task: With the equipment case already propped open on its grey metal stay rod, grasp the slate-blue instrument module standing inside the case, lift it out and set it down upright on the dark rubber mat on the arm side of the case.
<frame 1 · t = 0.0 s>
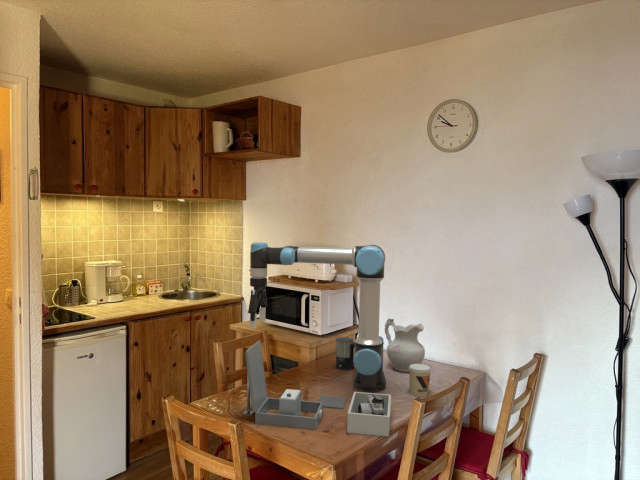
hand: (257, 324, 210), 28 cm above the table, fingers open, 13 cm apart
milk frother: (349, 366, 245), on the table
case: (290, 417, 179), on the table
mat: (331, 402, 195), on the table
camera: (370, 422, 177), resting in crate
module: (290, 418, 179), resting in case
lid: (256, 375, 181), point 15 cm above the table, hinge at 98.5°
coffee cup: (419, 394, 207), on the table
stay rod: (248, 413, 182), on the table
crate: (370, 421, 177), on the table
ceramic pitcher: (402, 368, 243), on the table
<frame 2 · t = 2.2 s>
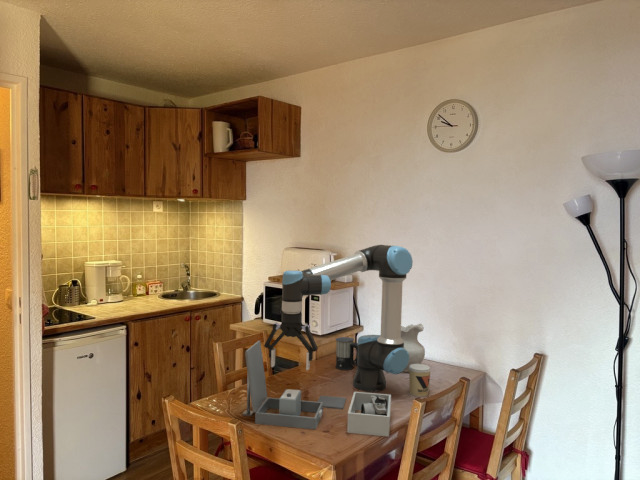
hand: (290, 367, 179), 19 cm above the table, fingers open, 13 cm apart
camera: (373, 422, 177), resting in crate
everything else where it was.
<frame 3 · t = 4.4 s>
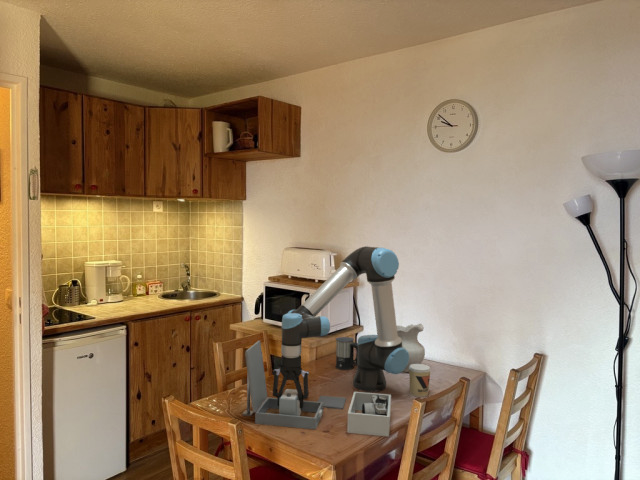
hand: (290, 415, 179), 1 cm above the table, fingers closed on module, 6 cm apart
module: (290, 417, 179), resting in case, touching gripper
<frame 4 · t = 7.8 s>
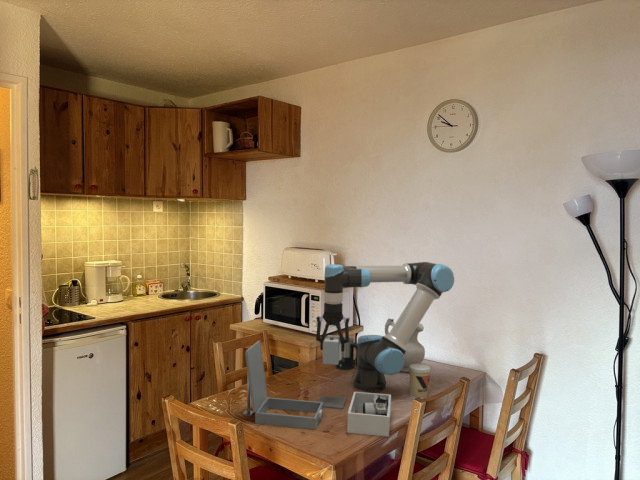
hand: (332, 358, 194), 19 cm above the table, fingers closed on module, 6 cm apart
module: (332, 360, 194), point 18 cm above the table, touching gripper
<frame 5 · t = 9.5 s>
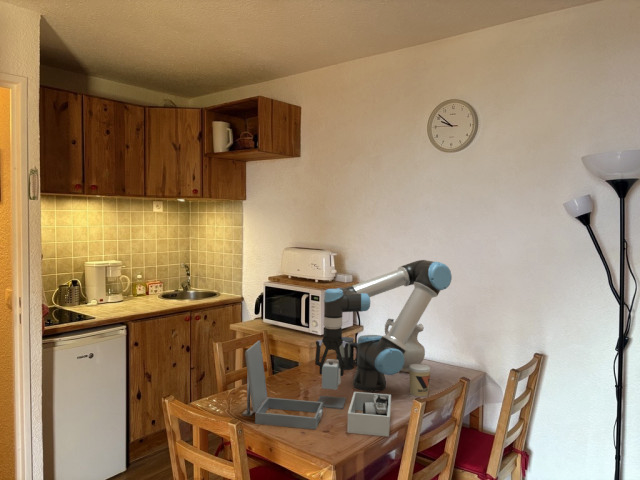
hand: (331, 382, 194), 8 cm above the table, fingers closed on module, 6 cm apart
module: (331, 384, 194), point 8 cm above the table, touching gripper
everything else where it was.
when the fingers open (2 cm above the table, at t = 11.0 s): module stays where it is, resting on mat.
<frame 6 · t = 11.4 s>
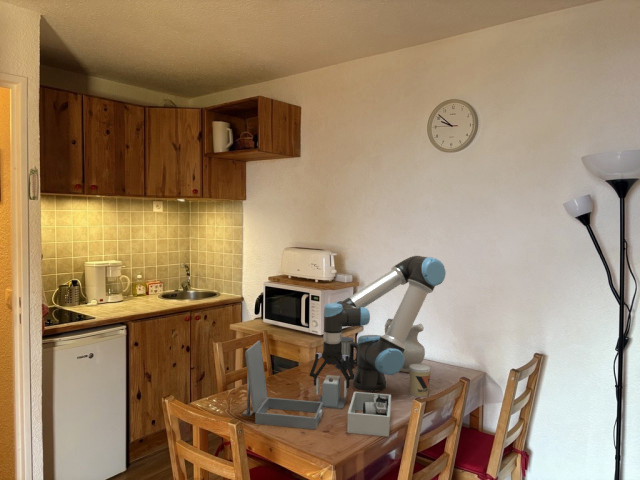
hand: (331, 394, 195), 3 cm above the table, fingers open, 11 cm apart
module: (331, 401, 195), point 1 cm above the table, touching mat
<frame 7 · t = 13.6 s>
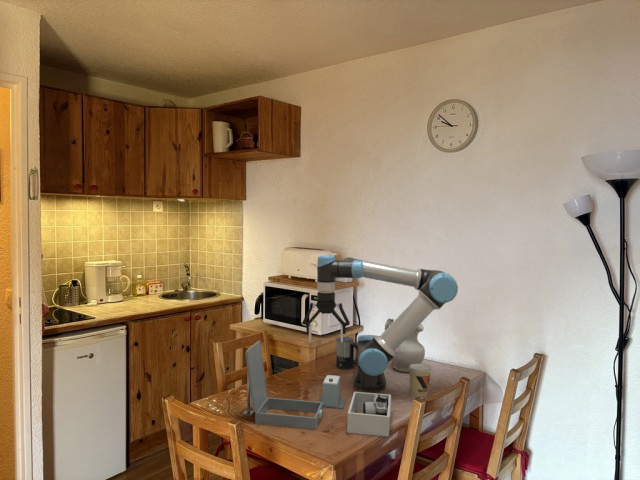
hand: (325, 341, 203), 23 cm above the table, fingers open, 13 cm apart
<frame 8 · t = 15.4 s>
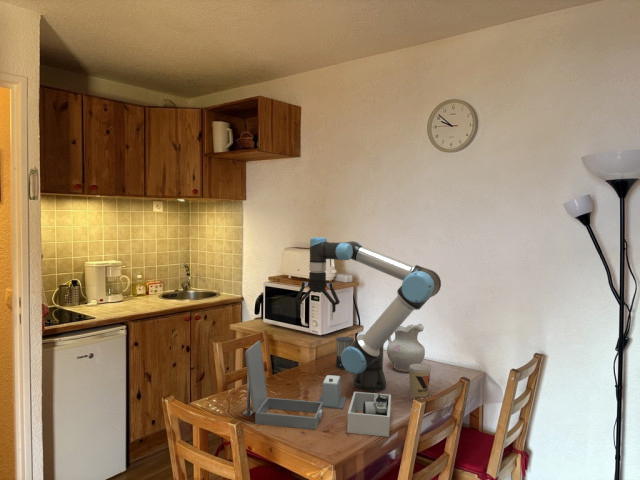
hand: (316, 318, 213), 31 cm above the table, fingers open, 13 cm apart
camera: (375, 421, 178), resting in crate
everything else where it was.
at the end: module inside the target area (0.0 cm from its centre), point 0.6 cm above the table; module tilted 0°; the gripper is holding nothing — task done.
